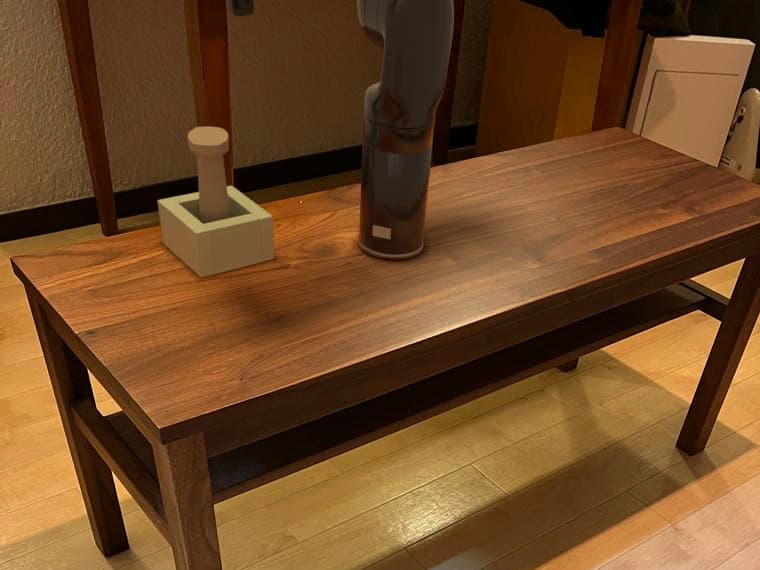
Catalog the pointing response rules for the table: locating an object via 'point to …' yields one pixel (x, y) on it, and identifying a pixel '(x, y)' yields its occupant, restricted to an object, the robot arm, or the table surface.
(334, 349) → the table surface
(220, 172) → the handle
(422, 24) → the robot arm
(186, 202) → the frame
